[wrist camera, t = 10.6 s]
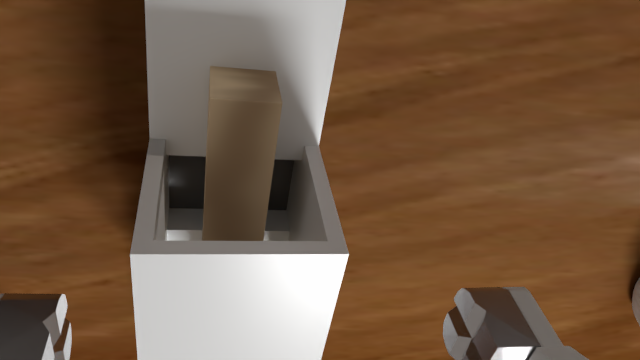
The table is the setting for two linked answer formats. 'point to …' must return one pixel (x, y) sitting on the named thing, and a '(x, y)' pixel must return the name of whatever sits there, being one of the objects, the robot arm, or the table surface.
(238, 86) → the stick
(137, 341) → the tunnel deck
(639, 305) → the ramekin
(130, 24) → the table surface
